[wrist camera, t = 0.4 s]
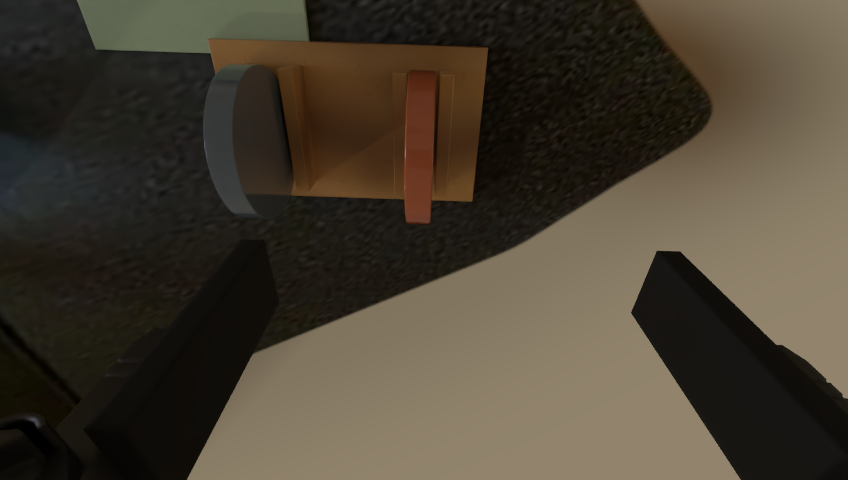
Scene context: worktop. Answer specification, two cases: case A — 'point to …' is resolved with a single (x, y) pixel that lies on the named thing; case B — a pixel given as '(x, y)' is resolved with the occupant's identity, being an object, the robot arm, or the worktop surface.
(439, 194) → the coaster rack
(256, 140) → the slate coaster
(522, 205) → the worktop surface
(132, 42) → the sage mat
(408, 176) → the terracotta coaster
